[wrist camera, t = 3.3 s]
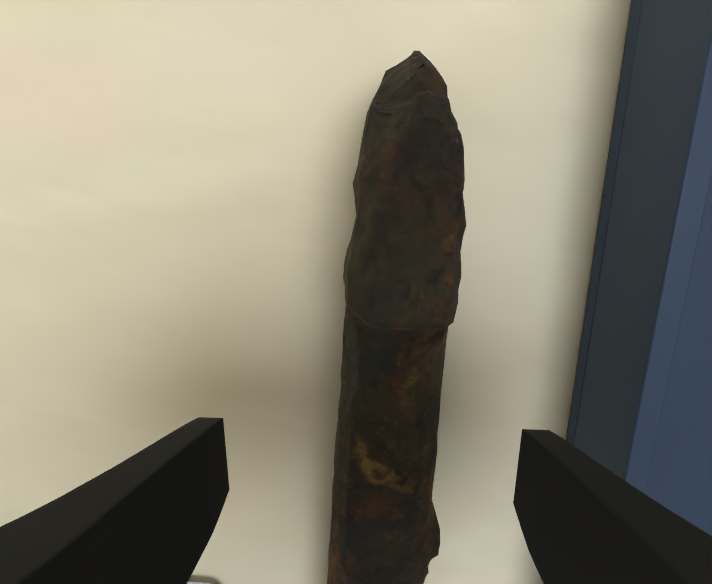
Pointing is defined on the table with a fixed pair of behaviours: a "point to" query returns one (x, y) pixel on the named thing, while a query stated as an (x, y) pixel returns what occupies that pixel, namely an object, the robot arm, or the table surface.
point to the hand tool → (397, 329)
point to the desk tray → (655, 270)
